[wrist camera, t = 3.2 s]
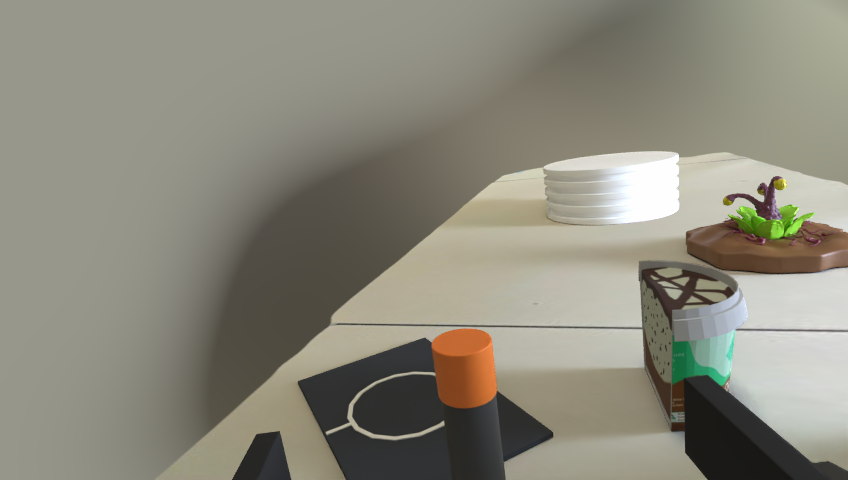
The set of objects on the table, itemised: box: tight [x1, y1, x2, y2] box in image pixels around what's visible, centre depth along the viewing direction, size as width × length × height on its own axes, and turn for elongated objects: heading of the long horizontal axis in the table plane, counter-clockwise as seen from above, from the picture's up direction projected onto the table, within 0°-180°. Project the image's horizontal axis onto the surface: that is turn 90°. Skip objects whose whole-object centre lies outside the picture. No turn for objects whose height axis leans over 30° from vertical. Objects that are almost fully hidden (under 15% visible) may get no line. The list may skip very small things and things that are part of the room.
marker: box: [431, 329, 506, 480], centre depth 27 cm, size 3×3×13 cm
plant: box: [686, 176, 848, 273], centre depth 68 cm, size 20×20×11 cm
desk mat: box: [298, 338, 553, 480], centre depth 43 cm, size 15×22×1 cm
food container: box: [639, 261, 748, 431], centre depth 38 cm, size 12×6×10 cm, turn 167°
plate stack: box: [543, 151, 679, 225], centre depth 108 cm, size 28×28×12 cm
